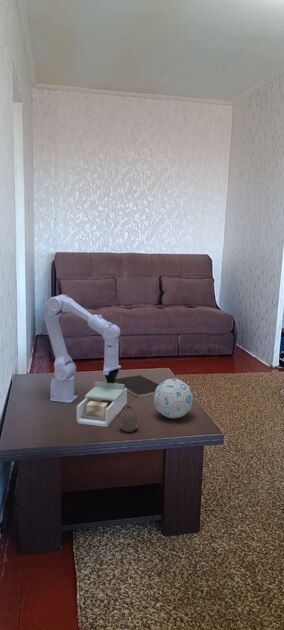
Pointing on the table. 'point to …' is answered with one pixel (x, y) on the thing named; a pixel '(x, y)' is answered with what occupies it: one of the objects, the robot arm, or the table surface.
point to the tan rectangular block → (96, 409)
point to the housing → (109, 413)
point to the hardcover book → (138, 385)
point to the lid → (106, 391)
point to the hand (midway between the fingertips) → (110, 387)
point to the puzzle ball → (173, 398)
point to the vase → (128, 419)
